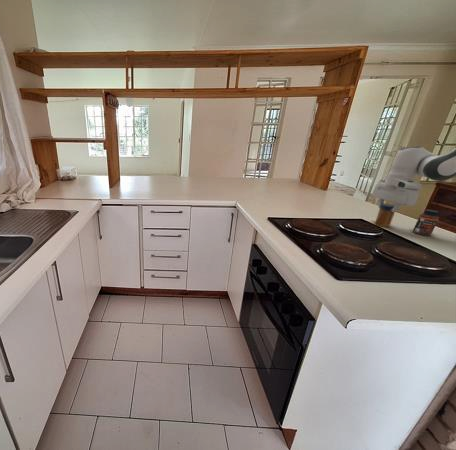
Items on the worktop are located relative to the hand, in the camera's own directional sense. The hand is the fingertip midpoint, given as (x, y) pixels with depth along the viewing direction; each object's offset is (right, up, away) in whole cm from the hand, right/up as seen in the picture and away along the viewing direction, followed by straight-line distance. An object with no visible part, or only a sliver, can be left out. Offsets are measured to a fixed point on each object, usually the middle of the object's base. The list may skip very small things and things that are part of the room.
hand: (386, 209), depth 117 cm
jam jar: (0, -8, +3) cm, 8 cm away
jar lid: (0, +2, -1) cm, 2 cm away
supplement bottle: (+9, -12, -7) cm, 16 cm away
